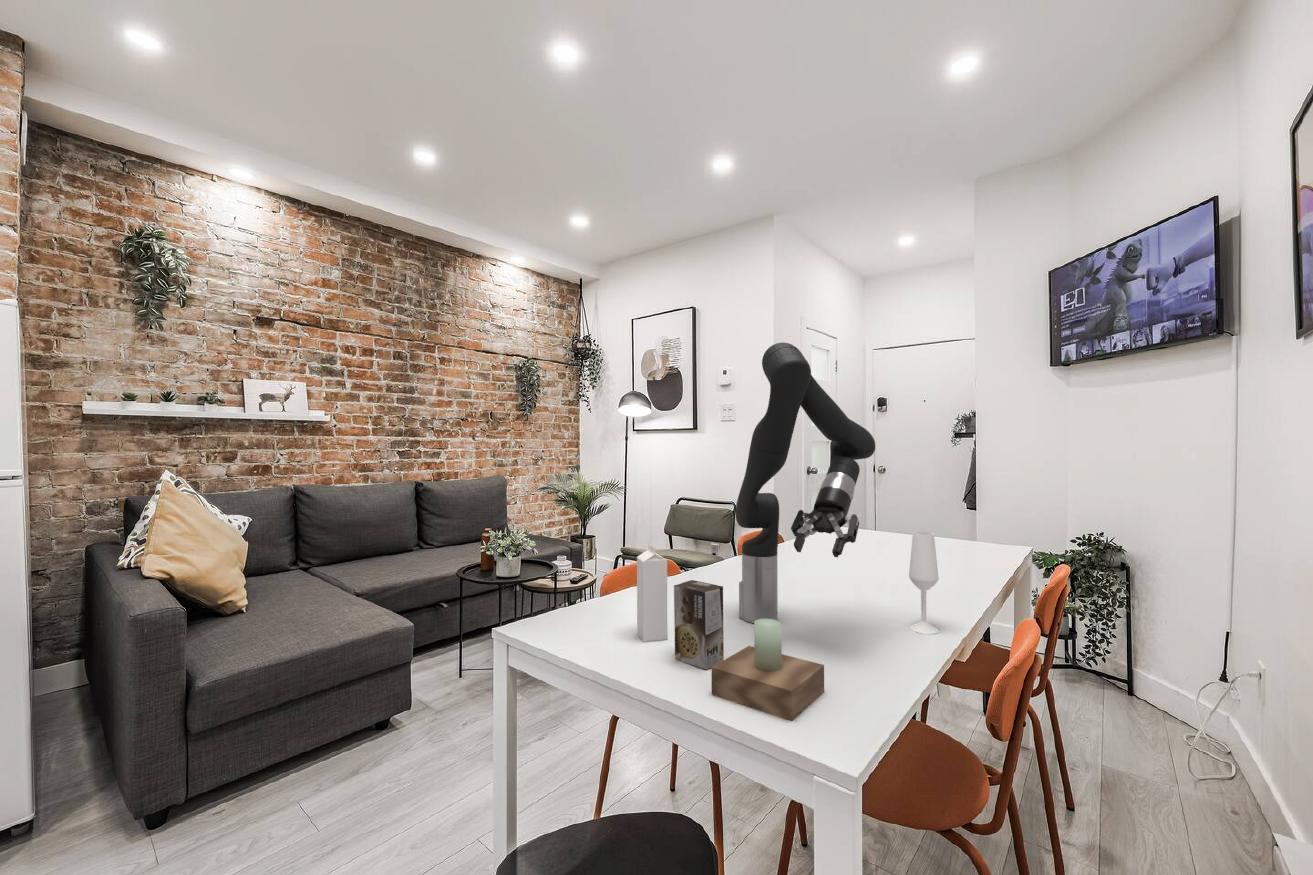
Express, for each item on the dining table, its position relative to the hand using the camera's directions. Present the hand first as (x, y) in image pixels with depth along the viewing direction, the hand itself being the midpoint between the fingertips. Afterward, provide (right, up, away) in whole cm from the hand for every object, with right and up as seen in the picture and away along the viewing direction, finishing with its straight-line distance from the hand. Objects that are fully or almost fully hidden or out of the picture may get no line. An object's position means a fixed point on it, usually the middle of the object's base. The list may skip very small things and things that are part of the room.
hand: (815, 552), depth 122 cm
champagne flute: (+32, -23, +17) cm, 43 cm away
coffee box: (-26, -23, -2) cm, 35 cm away
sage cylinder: (-14, -18, -18) cm, 29 cm away
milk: (-36, -23, +12) cm, 44 cm away
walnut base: (-14, -23, -18) cm, 32 cm away
